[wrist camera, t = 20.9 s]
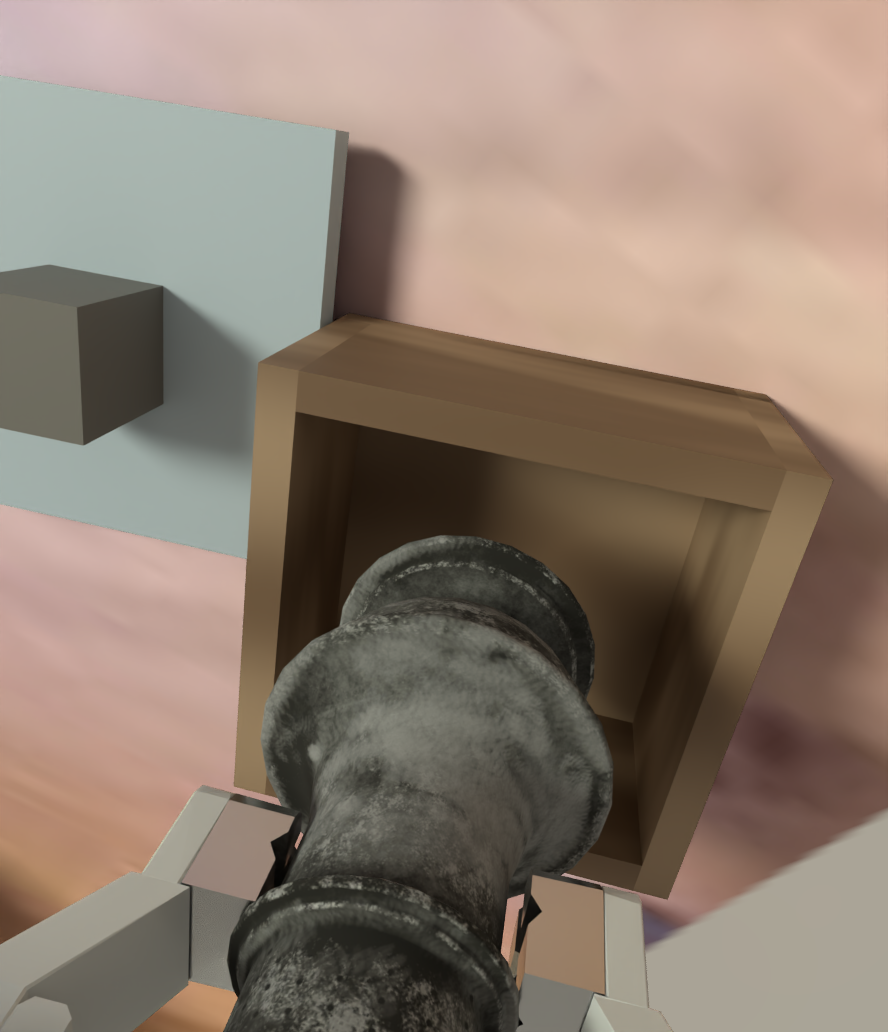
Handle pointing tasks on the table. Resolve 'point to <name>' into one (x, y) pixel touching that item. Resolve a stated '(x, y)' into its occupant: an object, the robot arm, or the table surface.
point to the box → (539, 535)
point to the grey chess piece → (422, 794)
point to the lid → (151, 301)
